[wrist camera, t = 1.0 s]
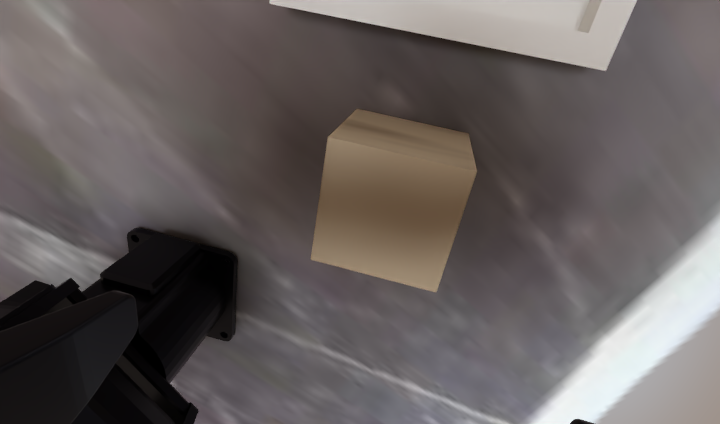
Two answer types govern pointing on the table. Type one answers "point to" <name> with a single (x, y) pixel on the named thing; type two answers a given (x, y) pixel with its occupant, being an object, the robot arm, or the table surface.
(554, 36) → the tray
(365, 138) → the maple block
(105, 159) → the table surface
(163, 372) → the robot arm
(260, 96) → the table surface
